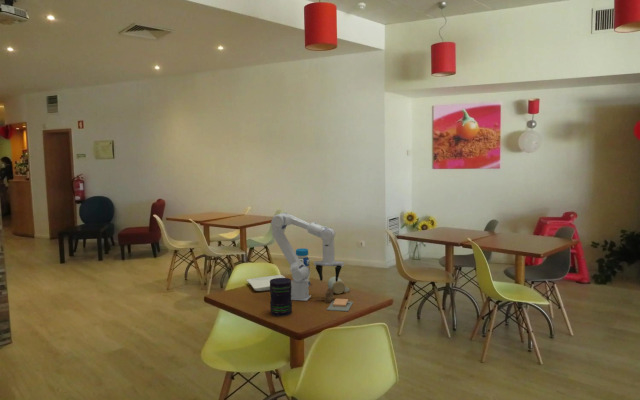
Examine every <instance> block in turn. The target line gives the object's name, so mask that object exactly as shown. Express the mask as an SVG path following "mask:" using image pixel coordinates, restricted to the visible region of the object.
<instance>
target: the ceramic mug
mask: <svg viewBox="0 0 640 400" xmlns="http://www.w3.org/2000/svg"><path fill="white" fill-rule="evenodd" d="M327 287H328V288H327V289H333V294H336V295H340V294H342V293H343V292H346V293H349V292H350V290H351V289H350V288H349V287H347V286H346V284H345V283H344V281H343V280H342V279H341V278H340V277H338V281H336V275H335V276H331V277H330V278H329V279H328V281H327Z"/></svg>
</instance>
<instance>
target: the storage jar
mask: <svg viewBox="0 0 640 400" xmlns="http://www.w3.org/2000/svg"><path fill="white" fill-rule="evenodd" d="M291 281H292V279H291V278H288V277H285V278H275V279H271V280H270V290H269V293H270V302H269V304H270V305H269V308H270V315H271V316H273V317H286V316H290V315H292V313H293V300H291V291H292V290H291V288H292V286H291Z"/></svg>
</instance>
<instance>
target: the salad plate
mask: <svg viewBox="0 0 640 400" xmlns="http://www.w3.org/2000/svg"><path fill="white" fill-rule="evenodd" d="M275 278H286V277H285V276H284V275H283V274H276V275H267V276H259V277H253V278H247V279H246V282H247V283H248V284H249V285H250V286H251V287H252V288H253V290H254V291H255V292H265V291H270V280H271V279H275Z"/></svg>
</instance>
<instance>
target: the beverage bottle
mask: <svg viewBox="0 0 640 400" xmlns="http://www.w3.org/2000/svg"><path fill="white" fill-rule="evenodd" d="M295 253H296V255H297V257H298V258H299V260H300V261H301V262H303V263H304V265H305V266H306V267H308V268H309V271H310V270H311V265H310V262H311V261H310V258H309V257H308V256H309V249H308V248H301V247H300V248H297V249H295ZM310 272H311V271H310ZM310 285H311V273H310V274H309V276H308V287H309V286H310Z"/></svg>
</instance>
